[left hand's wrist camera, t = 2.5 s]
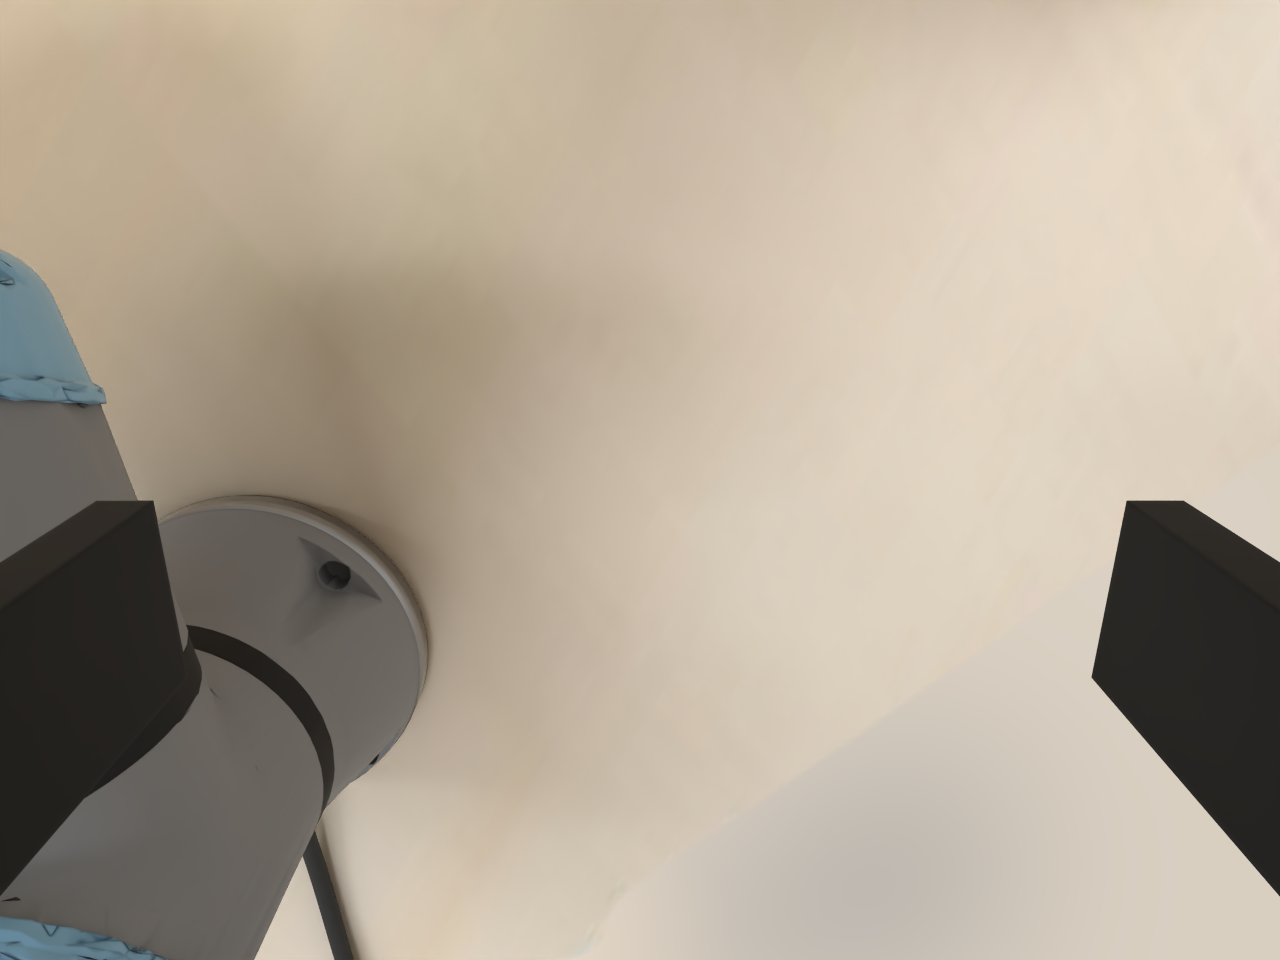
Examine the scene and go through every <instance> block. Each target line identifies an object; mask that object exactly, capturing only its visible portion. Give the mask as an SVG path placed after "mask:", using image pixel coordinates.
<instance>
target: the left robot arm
mask: <svg viewBox="0 0 1280 960" xmlns="http://www.w3.org/2000/svg"><path fill="white" fill-rule="evenodd" d="M106 403H107V402H106V397H105V393H104V391H103V389H102V388H101V387H99V386H97V385H96V384H94V383H93V382H92V381H91V379H90V377H89V375H88V373H87V370H86V368H85V366H84V364H83V362H82V359H81V357H80V355H79V353H78V351H77V348H76V346H75V344H74V342H73V340H72V337H71V335H70V333H69V331H68V329H67V326H66V324H65V322H64V320H63V317H62V315H61V313H60V311H59V309H58V306H57V304H56V302H55V300H54V298H53V295H52V294H51V292H50V290H49V289H48V287H47V286H46V284H45V283H44V282H43V280H42V279H41V278H40V277H39V275H38V274H37V273H36V272H35V271H34V270H33V269H31V268H30V267H29V266H28V265H27V264H25V263H24V262H23V261H21V260H20V259H18V258H16V257H14V256H13V255H11V254H9V253H7V252H5V251H2V250H0V960H254V959H255V956H256V954H257V952H258V950H259V948H260V946H261V944H262V941H263V939H264V937H265V935H266V933H267V931H268V928H269V926H270V924H271V922H272V920H273V918H274V915H275V913H276V911H277V909H278V907H279V905H280V902H281V900H282V898H283V896H284V894H285V892H286V889H287V887H288V885H289V883H290V881H291V879H292V877H293V875H294V872H295V870H296V868H297V866H298V864H299V862H300V860H301V858H302V856H303V858H304V861H305V864H306V867H307V870H308V873H309V876H310V879H311V882H312V886H313V889H314V892H315V895H316V899H317V902H318V905H319V909H320V912H321V915H322V919H323V922H324V926H325V929H326V933H327V936H328V939H329V943H330V946H331V949H332V953H333V956H334V959H335V960H354V959H353V956H352V952H351V949H350V945H349V942H348V939H347V935H346V932H345V928H344V925H343V921H342V917H341V914H340V910H339V907H338V903H337V900H336V896H335V893H334V890H333V886H332V883H331V880H330V876H329V873H328V870H327V867H326V863H325V860H324V857H323V854H322V851H321V848H320V845H319V842H318V839H317V836H316V833H315V828H316V826H317V823H318V821H319V819H320V817H321V815H322V813H323V811H324V809H325V807H326V806H328V805H329V804H330V803H331V802H332V801H333V800H334V798H335V797H336V796H337V795H338V794H339V793H340V792H341V791H342V790H343V789H344V788H345V787H346V786H347V785H348V784H349V783H351V782H352V781H354V780H356V779H357V778H359V777H360V776H362V775H363V774H364V773H366V772H367V771H368V770H369V769H370V768H372V767H373V766H374V765H375V764H376V763H377V762H379V761H380V760H381V759H382V758H383V757H384V756H385V755H386V753H387V752H388V751H389V750H390V749H391V747H392V746H393V745H394V744H395V743H396V741H397V740H398V739H399V737H400V736H401V734H402V733H403V732H404V730H405V728H406V726H407V724H408V723H409V721H410V719H411V716H412V714H413V711H414V709H415V707H416V704H417V702H418V699H419V697H420V694H421V692H422V689H423V685H424V681H425V678H426V671H427V664H428V645H427V636H426V630H425V625H424V621H423V618H422V615H421V611H420V609H419V606H418V604H417V602H416V599H415V597H414V595H413V593H412V591H411V590H410V588H409V586H408V584H407V582H406V581H405V579H404V578H403V577H402V575H401V574H400V572H399V571H398V569H397V568H396V567H395V566H394V565H393V563H392V562H391V561H390V560H389V559H388V557H387V556H386V555H385V554H384V553H383V552H382V551H381V550H380V549H379V548H378V547H377V546H375V545H374V544H373V543H372V542H371V541H369V540H368V539H367V538H366V537H365V536H363V535H362V534H360V533H359V532H358V531H356V530H355V529H353V528H352V527H350V526H349V525H347V524H345V523H344V522H342V521H340V520H339V519H337V518H335V517H333V516H331V515H328V514H326V513H324V512H322V511H320V510H317V509H314V508H312V507H309V506H307V505H303V504H300V503H296V502H293V501H289V500H284V499H278V498H273V497H264V496H229V497H220V498H215V499H209V500H205V501H202V502H198V503H195V504H192V505H189V506H187V507H184V508H182V509H179V510H177V511H175V512H173V513H171V514H170V515H168V516H166V517H164V518H163V519H161V520H160V521H158V522H157V517H156V512H155V507H154V502H153V501H138V500H137V497H136V495H135V492H134V490H133V487H132V485H131V482H130V479H129V477H128V474H127V472H126V469H125V466H124V464H123V461H122V459H121V456H120V454H119V451H118V448H117V446H116V443H115V441H114V438H113V435H112V433H111V430H110V428H109V425H108V422H107V420H106V417H105V415H104V412H103V410H102V407H101V404H106ZM1092 679H1093V680H1094V681H1095V682H1096V683H1097V684H1098V686H1099V687H1100V688H1101V689H1102V690H1103V691H1104V692H1105V694H1106V695H1107V696H1108V697H1109V698H1110V699H1111V701H1112V702H1113V703H1114V704H1115V705H1116V706H1117V708H1118V709H1119V710H1120V711H1121V712H1122V713H1123V715H1124V716H1125V717H1126V718H1127V719H1128V720H1129V721H1130V723H1131V724H1132V725H1133V726H1134V727H1135V729H1136V730H1137V731H1138V732H1139V733H1140V734H1141V736H1142V737H1143V738H1144V739H1145V740H1146V741H1147V743H1148V744H1149V745H1150V746H1151V747H1152V748H1153V749H1154V751H1155V752H1156V753H1157V754H1158V755H1159V756H1160V758H1161V759H1162V760H1163V761H1164V762H1165V763H1166V765H1167V766H1168V767H1169V768H1170V769H1171V770H1172V771H1173V773H1174V774H1175V775H1176V776H1177V777H1178V779H1179V780H1180V781H1181V782H1182V783H1183V784H1184V786H1185V787H1186V788H1187V789H1188V790H1189V791H1190V792H1191V794H1192V795H1193V796H1194V797H1195V798H1196V799H1197V801H1198V802H1199V803H1200V804H1201V805H1202V806H1203V808H1204V809H1205V810H1206V811H1207V812H1208V813H1209V815H1210V816H1211V817H1212V818H1213V819H1214V820H1215V822H1216V823H1217V824H1218V825H1219V826H1220V827H1221V829H1222V830H1223V831H1224V832H1225V833H1226V834H1227V836H1228V837H1229V838H1230V839H1231V840H1232V841H1233V842H1234V844H1235V845H1236V846H1237V847H1238V848H1239V849H1240V851H1241V852H1242V853H1243V854H1244V855H1245V856H1246V858H1247V859H1248V860H1249V861H1250V862H1251V863H1252V864H1253V866H1254V867H1255V868H1256V869H1257V870H1258V872H1259V873H1260V874H1261V875H1262V876H1263V877H1264V878H1265V880H1266V881H1267V882H1268V883H1269V884H1270V885H1271V887H1272V888H1273V889H1274V890H1275V891H1276V892H1277V894H1278V895H1279V896H1280V562H1278V561H1277V560H1275V559H1274V558H1272V557H1271V556H1269V555H1267V554H1266V553H1264V552H1263V551H1261V550H1260V549H1258V548H1257V547H1255V546H1253V545H1252V544H1250V543H1249V542H1247V541H1246V540H1244V539H1242V538H1241V537H1239V536H1238V535H1236V534H1235V533H1233V532H1232V531H1230V530H1228V529H1227V528H1225V527H1224V526H1222V525H1221V524H1219V523H1217V522H1216V521H1214V520H1213V519H1211V518H1210V517H1208V516H1207V515H1205V514H1203V513H1202V512H1200V511H1199V510H1197V509H1196V508H1194V507H1193V506H1191V505H1189V504H1188V503H1186V502H1185V501H1127V502H1126V507H1125V512H1124V517H1123V522H1122V527H1121V532H1120V537H1119V542H1118V547H1117V552H1116V557H1115V562H1114V567H1113V572H1112V577H1111V582H1110V587H1109V592H1108V597H1107V602H1106V607H1105V612H1104V617H1103V622H1102V627H1101V632H1100V638H1099V643H1098V648H1097V653H1096V658H1095V663H1094V668H1093V673H1092Z"/></svg>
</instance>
